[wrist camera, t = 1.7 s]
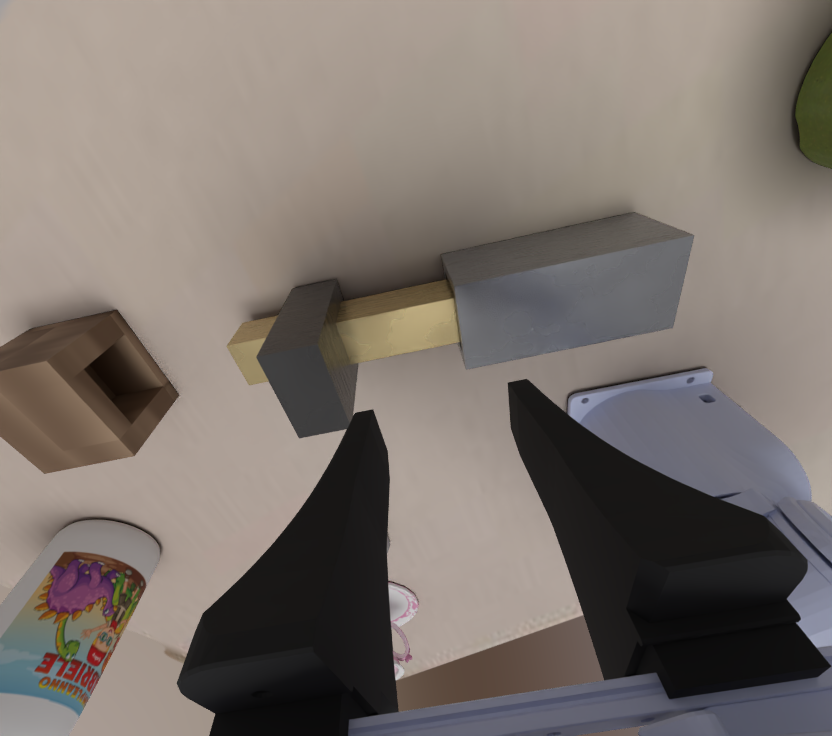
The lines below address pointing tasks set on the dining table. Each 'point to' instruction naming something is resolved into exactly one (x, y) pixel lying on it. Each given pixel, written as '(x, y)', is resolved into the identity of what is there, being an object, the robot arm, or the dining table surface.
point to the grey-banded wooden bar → (338, 345)
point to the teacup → (401, 619)
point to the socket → (80, 393)
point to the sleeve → (567, 287)
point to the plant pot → (817, 108)
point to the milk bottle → (68, 623)
